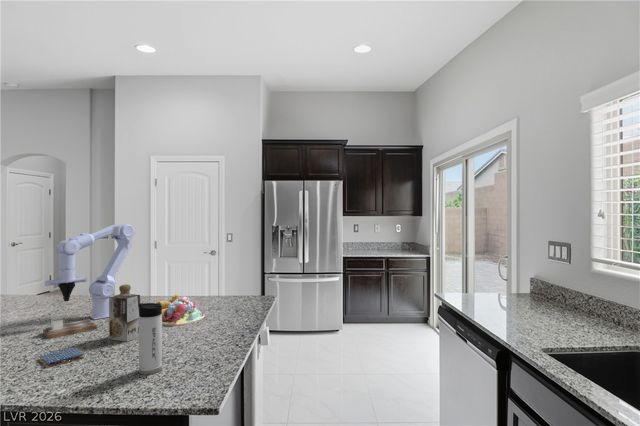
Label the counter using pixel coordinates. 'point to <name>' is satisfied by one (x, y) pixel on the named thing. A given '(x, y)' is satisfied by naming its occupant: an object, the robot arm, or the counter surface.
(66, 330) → the fader board
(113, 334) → the coffee box
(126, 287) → the cork
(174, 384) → the counter surface
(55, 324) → the fader knob
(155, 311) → the travel mug
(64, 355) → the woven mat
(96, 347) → the counter surface
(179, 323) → the candy landscape model
